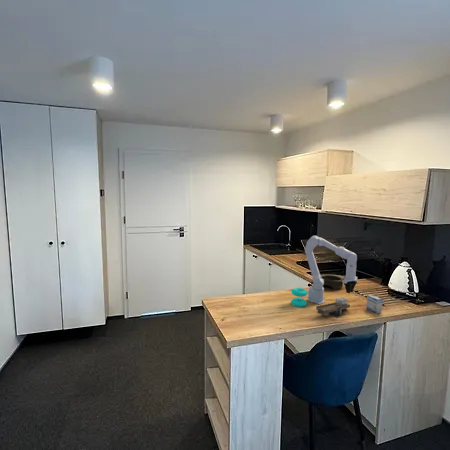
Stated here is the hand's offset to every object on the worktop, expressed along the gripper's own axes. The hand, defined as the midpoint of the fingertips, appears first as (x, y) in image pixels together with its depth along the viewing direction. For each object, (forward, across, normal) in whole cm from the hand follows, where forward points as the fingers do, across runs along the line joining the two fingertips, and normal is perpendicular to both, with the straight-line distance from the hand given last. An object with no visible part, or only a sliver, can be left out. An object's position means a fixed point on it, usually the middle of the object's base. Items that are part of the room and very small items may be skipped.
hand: (349, 292), depth 195 cm
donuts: (+10, -24, +21) cm, 33 cm away
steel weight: (+7, -9, 0) cm, 11 cm away
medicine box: (+10, +7, -13) cm, 18 cm away
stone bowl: (+10, +29, +32) cm, 44 cm away
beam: (+8, -18, 0) cm, 20 cm away
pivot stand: (+9, -14, 0) cm, 17 cm away
